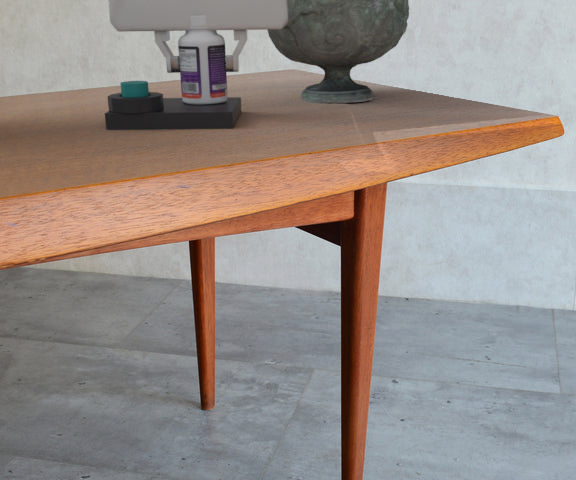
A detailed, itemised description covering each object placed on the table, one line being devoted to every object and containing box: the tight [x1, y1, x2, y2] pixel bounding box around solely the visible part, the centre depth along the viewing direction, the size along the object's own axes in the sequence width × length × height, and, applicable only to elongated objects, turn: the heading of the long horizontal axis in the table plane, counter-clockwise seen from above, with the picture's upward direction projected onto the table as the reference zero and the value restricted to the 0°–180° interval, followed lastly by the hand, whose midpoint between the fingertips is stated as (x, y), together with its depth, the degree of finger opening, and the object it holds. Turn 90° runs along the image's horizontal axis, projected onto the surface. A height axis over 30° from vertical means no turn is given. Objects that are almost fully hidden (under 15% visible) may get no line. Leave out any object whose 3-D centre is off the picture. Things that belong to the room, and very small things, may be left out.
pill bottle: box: [177, 15, 228, 105], centre depth 86 cm, size 5×5×10 cm
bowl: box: [267, 0, 410, 104], centre depth 100 cm, size 20×19×15 cm
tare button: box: [119, 80, 150, 97], centre depth 82 cm, size 3×3×2 cm
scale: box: [104, 91, 242, 131], centre depth 85 cm, size 14×12×4 cm
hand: (203, 72), depth 86 cm, fingers closed on pill bottle, 5 cm apart
